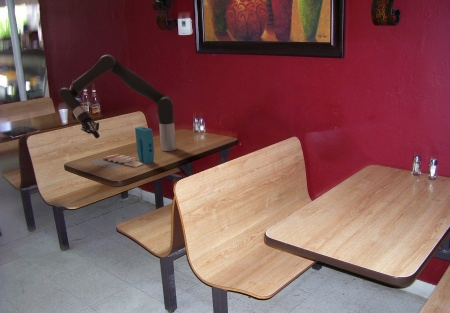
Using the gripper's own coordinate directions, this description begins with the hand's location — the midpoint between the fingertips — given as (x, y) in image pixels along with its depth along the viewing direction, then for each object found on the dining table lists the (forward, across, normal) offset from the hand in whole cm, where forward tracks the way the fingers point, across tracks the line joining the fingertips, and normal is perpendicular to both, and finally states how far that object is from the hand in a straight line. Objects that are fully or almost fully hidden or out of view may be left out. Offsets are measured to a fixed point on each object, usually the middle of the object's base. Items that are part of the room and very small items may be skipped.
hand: (98, 137), depth 273 cm
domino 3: (+21, +1, -3) cm, 21 cm away
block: (+30, +9, -11) cm, 33 cm away
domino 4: (+24, +1, -6) cm, 25 cm away
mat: (+17, -2, +2) cm, 17 cm away
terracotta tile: (+11, +1, +6) cm, 13 cm away
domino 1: (+14, +1, +3) cm, 15 cm away
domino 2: (+18, +1, 0) cm, 18 cm away
